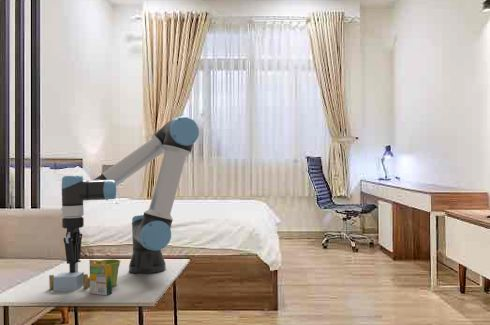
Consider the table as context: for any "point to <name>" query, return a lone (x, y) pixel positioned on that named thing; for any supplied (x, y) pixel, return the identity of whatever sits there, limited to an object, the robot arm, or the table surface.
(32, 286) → the table surface
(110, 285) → the crayon box
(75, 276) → the block
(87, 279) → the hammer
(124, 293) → the table surface
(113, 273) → the plant pot
